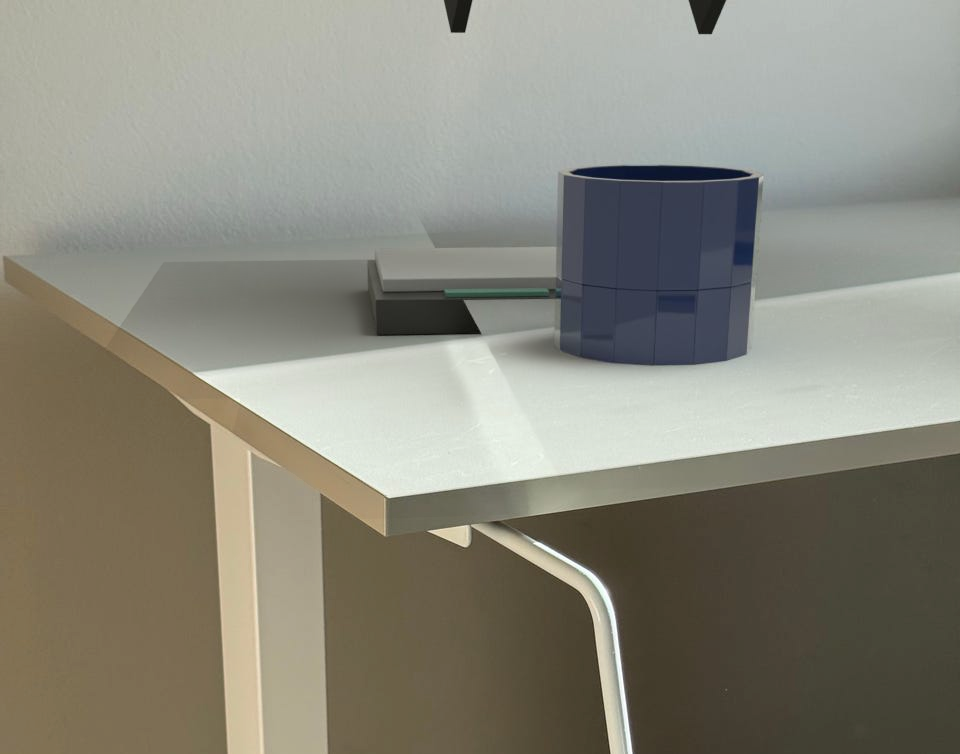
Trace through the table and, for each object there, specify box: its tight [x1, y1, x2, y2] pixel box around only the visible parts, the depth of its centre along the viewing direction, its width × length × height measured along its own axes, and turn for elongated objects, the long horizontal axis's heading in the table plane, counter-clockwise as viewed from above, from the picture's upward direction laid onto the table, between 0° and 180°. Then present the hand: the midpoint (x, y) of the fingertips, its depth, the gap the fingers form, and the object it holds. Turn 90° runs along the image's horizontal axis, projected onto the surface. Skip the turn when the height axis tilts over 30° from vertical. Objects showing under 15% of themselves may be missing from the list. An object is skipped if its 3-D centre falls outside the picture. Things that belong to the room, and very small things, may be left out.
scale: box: [366, 246, 557, 336], centre depth 92 cm, size 14×16×3 cm
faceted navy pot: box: [554, 163, 764, 367], centre depth 71 cm, size 9×9×10 cm
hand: (590, 14), depth 76 cm, fingers open, 13 cm apart
